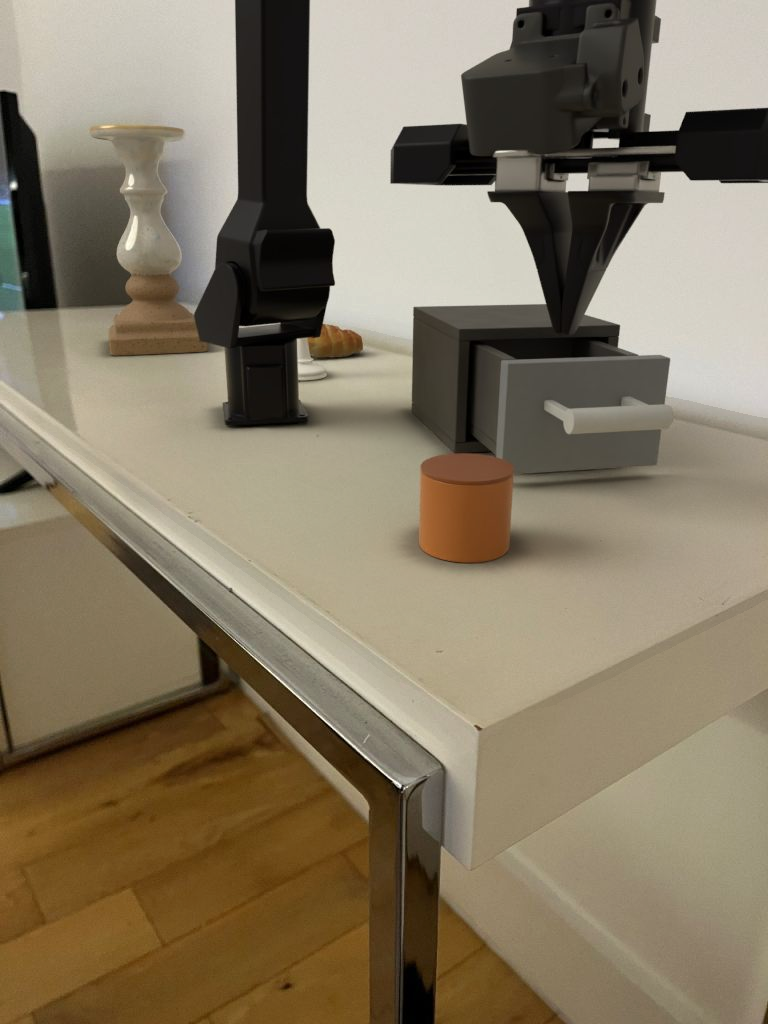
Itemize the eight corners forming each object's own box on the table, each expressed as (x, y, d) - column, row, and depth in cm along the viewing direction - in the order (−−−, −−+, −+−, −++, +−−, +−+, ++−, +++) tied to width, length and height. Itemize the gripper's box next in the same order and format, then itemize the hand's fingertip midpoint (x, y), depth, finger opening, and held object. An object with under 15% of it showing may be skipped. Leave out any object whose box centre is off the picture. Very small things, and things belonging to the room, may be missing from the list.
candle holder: (110, 341, 102) (86, 130, 94) (199, 337, 105) (184, 133, 97) (110, 356, 92) (84, 122, 84) (208, 351, 96) (193, 125, 87)
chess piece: (333, 378, 81) (331, 274, 78) (285, 382, 80) (281, 275, 76) (318, 369, 86) (316, 270, 82) (272, 372, 84) (268, 271, 80)
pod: (409, 531, 44) (410, 455, 42) (491, 525, 45) (495, 451, 43) (432, 566, 40) (434, 483, 38) (522, 559, 40) (528, 478, 39)
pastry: (358, 348, 98) (357, 316, 97) (367, 359, 92) (367, 324, 90) (279, 350, 96) (277, 317, 95) (283, 361, 90) (282, 326, 89)
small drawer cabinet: (607, 445, 60) (620, 324, 56) (454, 453, 57) (459, 329, 54) (541, 405, 71) (548, 303, 68) (411, 411, 69) (413, 306, 66)
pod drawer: (698, 489, 48) (716, 372, 45) (530, 501, 46) (538, 379, 43) (579, 420, 62) (588, 330, 60) (448, 427, 60) (451, 334, 58)
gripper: (322, -22, 36) (329, 337, 41) (784, -102, 26) (713, 380, 32) (447, 22, 45) (439, 315, 50) (829, -26, 35) (767, 343, 41)
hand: (564, 334), depth 43 cm, fingers closed
